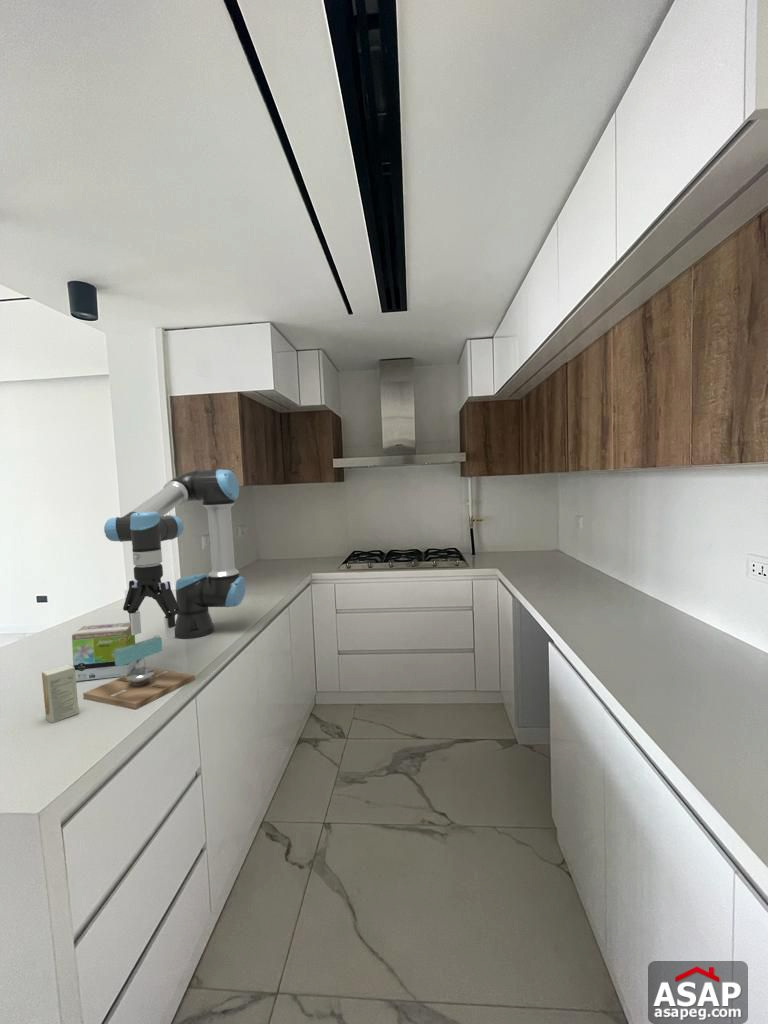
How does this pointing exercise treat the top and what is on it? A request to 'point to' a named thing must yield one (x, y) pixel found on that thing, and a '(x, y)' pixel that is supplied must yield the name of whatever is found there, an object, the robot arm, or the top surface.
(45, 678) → the skincare box
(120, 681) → the post base
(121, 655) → the teal lever handle
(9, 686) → the top surface
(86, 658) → the tea box
